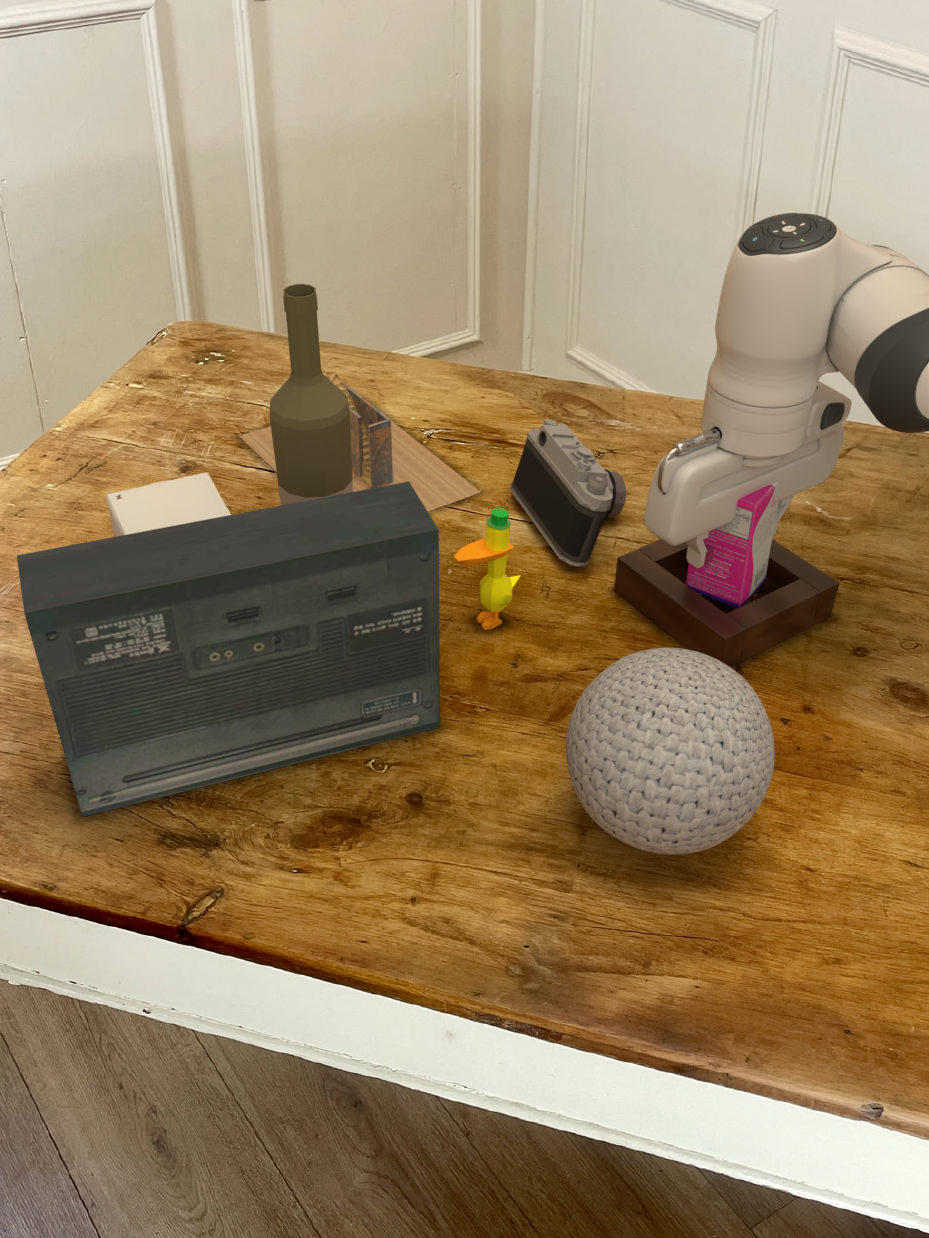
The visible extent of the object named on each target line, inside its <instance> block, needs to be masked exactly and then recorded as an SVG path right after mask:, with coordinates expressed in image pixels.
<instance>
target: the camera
mask: <svg viewBox="0 0 929 1238" xmlns="http://www.w3.org/2000/svg"><path fill="white" fill-rule="evenodd" d="M509 490H510V492H511V493H512V495H513V496H514V497H515V499H516V500H517V502H518V503H519V505H520V506H521V507H522V509H523V510H524V511H525V513H526V514H527V515H528V517H529V518H530V520H531V522H532V523H533V524H534V525H535V527H536V528H537V530H538V531H539V533H541V536H542V537H543V538H544V539H545V541H546V542H547V544H548V545H549V547H551V549H552V550H553V552H554V553H555V555H556V556H557V557H558V559H559V560H560V561H562V562H564V563H566V564H567V565H570V566H573V567H586V566H587V565H589V563H590V560H591V557H592V553H593V551H594V548H595V546H596V543H597V540H598V538H599V535H600V532H601V531H602V527H603V525H604V522H605V520H606V518H611V519H615V518H617V516H619V515H620V514H621V513H622V510H623V509H624V506H625V504H626V498H627V486H626V483H625V480H624V478H623V476H622V475H621V474H619V472H617V471H610V470H609V469H606V468H604V467H603V466H602V465H601V464H600V463H599V461H598V460H597V459H596V456H595V455H594V453H593V451H592V450H591V449H590V448H587V447H586V446H585V445H584V444H583V443H582V442H581V441H580V439H579V438H578V437H577V436H576V435H575V434H574V432H573V431H572V430H571V428H569V426H568V425H567V424H566V423H560V422H559V423H558V421H556V420H555V419H551V418H545V419H544V421H543V424H541V426H540V429H539V428H532V429H530V430H529V431H528V433H527V435H526V439H525V443H524V447H523V449H522V452H521V455H520V459H519V462H518V465H517V467H516V471H515V474H514V476H513V479H512V483H511V485H510V489H509Z"/></svg>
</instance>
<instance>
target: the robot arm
mask: <svg viewBox="0 0 929 1238" xmlns="http://www.w3.org/2000/svg"><path fill="white" fill-rule="evenodd" d="M719 295H720V296H719V302H718V306H717V313H716V317H715V318H716V319H715V325H714V333H715V334H714V336H715V340H716V351H715V355H714V357H713V360H712V362H711V364H710V367H709V369H708V373H707V379H706V385H705V392H704V398H703V407H702V413H701V420H700V430H701V432H700V433H698V434H696V435H694V436H693V437H689V438H685V439H681V440H679V441H677V442H676V443H674V444H673V445H672V449H671V450H669V451H668V453H667V454H666V455H664V456H663V457H662V458H661V459H660V461H659V462H658V464H657V466H656V469H655V471H654V474H653V476H652V480H651V484H650V488H649V491H648V496H647V500H646V505H645V509H644V515H643V523H644V526H645V527H646V528H647V530H648V531H649V532H650V533H651V534H653V535H654V536H655V538H658V540H660V539H661V540H662V541H664V542H665V543H667V544H669V545H671V546H676V545H679V544H681V543H683V542H686V544H687V545H688V549H687V556H686V558H687V561H688V562H689V563H690V564H691V565H693V566H694V567H696V568H700V567H702V566H704V565H707V564H709V563H711V562H712V558H711V557H712V555H713V550H714V549H713V548H712V547H710V546H709V545H706V544H705V542H703V539H706V538H708V535H709V531H711V530H714V529H716V528H718V527H721V526H723V525H725V524H728V523H730V522H732V521H733V520H734V518H735V513H736V507H737V502H738V499H740V498H742V497H744V496H746V495H748V494H750V493H753V492H755V491H757V490H759V489H761V488H764V487H766V486H768V485H771V484H773V483H775V482H779V487H778V492H777V502H779V503H778V509H777V514H776V520H775V526H774V531H773V536H774V535H776V534H777V532H778V531H777V530H778V527H779V526H778V525H779V523H780V522H779V521H780V520H781V519H782V517H783V516H784V514H785V513H786V511H787V510H788V509H789V507H790V505H791V504H792V503H793V498H794V496H795V495H797V494H800V493H802V492H804V491H807V490H809V489H812V488H813V487H815V486H816V487H817V486H818V485H821V484H823V483H825V482H826V481H827V480H828V478H830V476H831V475H832V473H833V472H834V470H835V468H836V466H837V462H838V460H839V455H840V452H841V448H842V444H843V439H844V433H845V424H844V421H846V420H847V419H848V417H849V416H850V412H851V409H852V405H853V403H852V399H850V398H849V397H848V396H847V395H845V394H843V393H841V392H840V391H838V390H836V389H834V388H833V387H831V386H829V385H827V384H825V383H824V382H821V381H820V379H821V378H822V377H823V376H824V375H826V374H830V373H832V374H833V373H840V374H841V375H842V376H843V377H844V378H845V380H847V381H848V382H849V383H850V385H851V386H852V387H854V389H855V390H856V392H857V394H858V396H860V398H861V400H862V402H863V403H864V404H865V405H866V406H867V408H868V410H869V411H870V413H871V414H872V415H873V416H874V419H876V420H877V422H879V424H881V425H882V426H884V427H885V428H887V429H889V430H891V431H893V432H897V433H903V434H919V433H926V432H929V274H928V273H927V272H926V271H924V269H922V268H921V267H919V266H918V265H917V264H916V263H914V262H913V261H911V260H910V259H909V258H908V257H907V256H905V255H903V254H902V253H900V252H898V251H897V250H894V249H893V248H890V247H889V246H888V247H887V246H884V245H878V244H868V243H865V242H862V241H859V240H857V239H855V238H853V237H851V236H849V235H848V234H846V233H845V232H843V231H842V230H841V229H840V228H839V227H838V226H837V225H836V224H835V222H833V221H832V220H831V219H829V218H826V217H824V216H822V215H819V214H815V213H803V212H802V213H801V212H800V213H799V212H798V213H797V212H787V213H779V214H775V215H770V216H768V217H766V218H763V219H761V220H759V221H757V222H755V223H753V224H752V225H750V226H749V227H748V228H747V229H745V230H744V232H743V233H742V234H741V236H739V238H738V239H737V242H736V243H735V245H734V247H733V249H732V252H731V255H730V257H729V260H728V263H727V266H726V270H725V273H724V276H723V282H722V287H721V290H720V294H719Z"/></svg>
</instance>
